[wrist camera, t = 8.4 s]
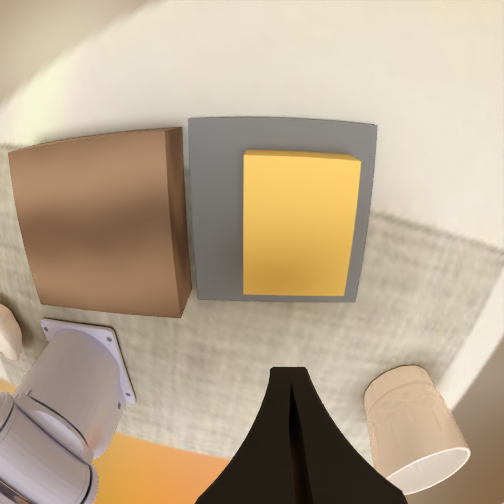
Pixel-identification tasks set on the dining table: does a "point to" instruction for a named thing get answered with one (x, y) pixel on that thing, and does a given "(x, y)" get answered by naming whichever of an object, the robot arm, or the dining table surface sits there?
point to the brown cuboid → (106, 221)
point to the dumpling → (9, 334)
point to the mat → (232, 187)
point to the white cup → (412, 430)
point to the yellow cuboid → (298, 222)
